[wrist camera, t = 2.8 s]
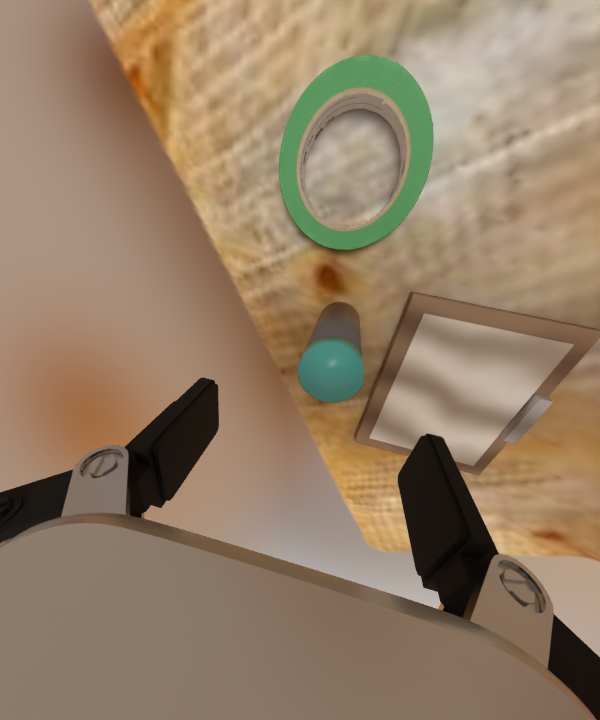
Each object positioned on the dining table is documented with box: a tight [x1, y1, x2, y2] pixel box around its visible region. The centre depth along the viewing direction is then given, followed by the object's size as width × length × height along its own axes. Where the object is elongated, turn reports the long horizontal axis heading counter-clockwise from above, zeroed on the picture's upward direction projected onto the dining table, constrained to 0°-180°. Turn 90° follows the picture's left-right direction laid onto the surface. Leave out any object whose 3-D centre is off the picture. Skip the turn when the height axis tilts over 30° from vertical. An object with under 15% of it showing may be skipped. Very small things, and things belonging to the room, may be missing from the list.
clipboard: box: [355, 292, 600, 475], centre depth 25 cm, size 20×16×2 cm
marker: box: [298, 302, 364, 402], centre depth 20 cm, size 4×4×12 cm
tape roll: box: [279, 55, 433, 250], centre depth 18 cm, size 11×11×3 cm
